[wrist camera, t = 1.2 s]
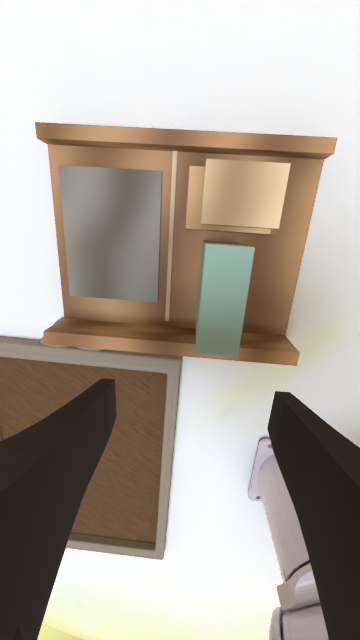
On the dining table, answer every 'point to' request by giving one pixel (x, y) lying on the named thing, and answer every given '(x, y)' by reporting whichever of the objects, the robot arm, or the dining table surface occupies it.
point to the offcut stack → (236, 196)
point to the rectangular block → (222, 297)
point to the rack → (167, 237)
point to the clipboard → (124, 443)
